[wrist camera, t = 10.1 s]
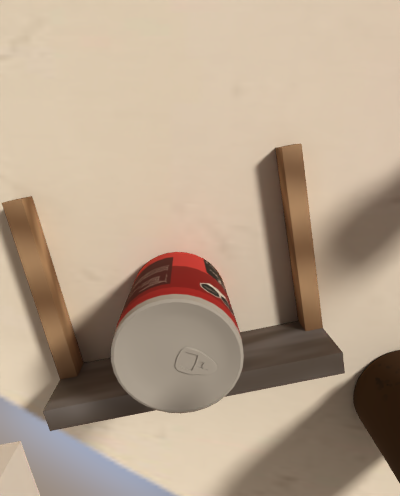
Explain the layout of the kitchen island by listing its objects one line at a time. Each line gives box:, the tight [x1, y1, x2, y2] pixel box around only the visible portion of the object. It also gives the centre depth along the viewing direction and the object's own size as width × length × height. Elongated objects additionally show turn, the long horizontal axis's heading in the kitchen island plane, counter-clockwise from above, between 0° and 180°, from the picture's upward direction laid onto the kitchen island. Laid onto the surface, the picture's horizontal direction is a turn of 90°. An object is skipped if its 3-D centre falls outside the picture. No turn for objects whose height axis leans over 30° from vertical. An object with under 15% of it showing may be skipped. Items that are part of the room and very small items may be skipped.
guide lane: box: [2, 144, 345, 431], centre depth 29 cm, size 17×23×6 cm
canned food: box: [111, 252, 244, 413], centre depth 27 cm, size 8×8×11 cm
